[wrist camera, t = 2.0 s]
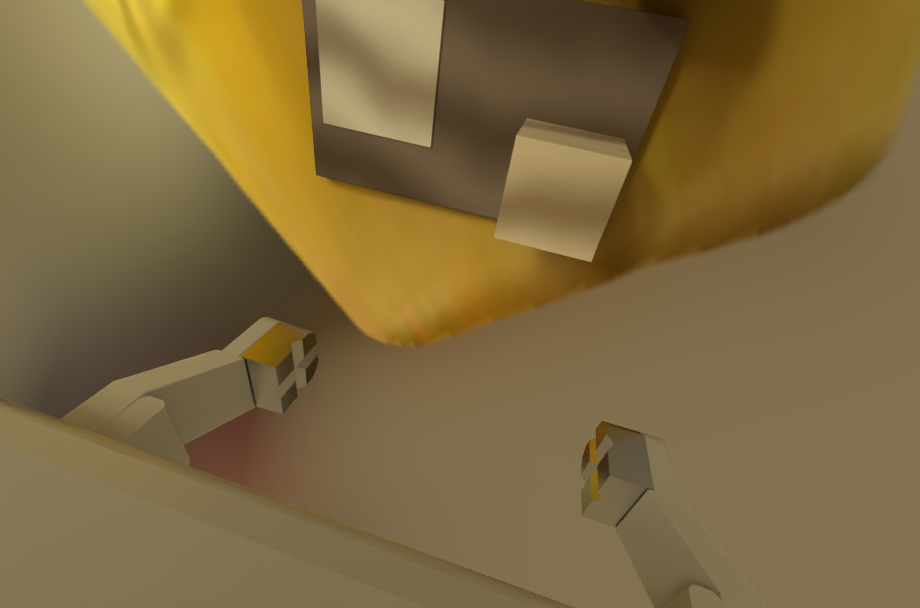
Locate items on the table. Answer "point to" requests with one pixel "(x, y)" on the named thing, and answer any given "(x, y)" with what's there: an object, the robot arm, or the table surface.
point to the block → (561, 188)
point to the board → (472, 87)
